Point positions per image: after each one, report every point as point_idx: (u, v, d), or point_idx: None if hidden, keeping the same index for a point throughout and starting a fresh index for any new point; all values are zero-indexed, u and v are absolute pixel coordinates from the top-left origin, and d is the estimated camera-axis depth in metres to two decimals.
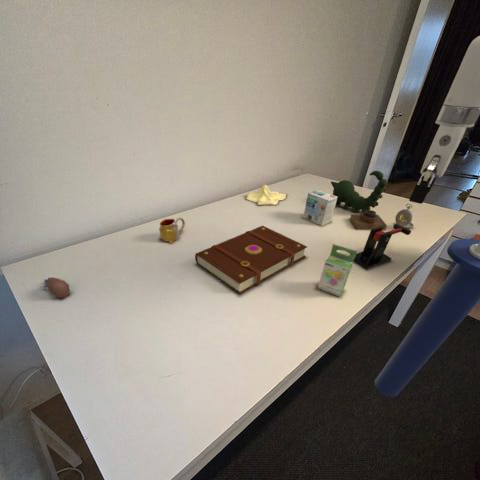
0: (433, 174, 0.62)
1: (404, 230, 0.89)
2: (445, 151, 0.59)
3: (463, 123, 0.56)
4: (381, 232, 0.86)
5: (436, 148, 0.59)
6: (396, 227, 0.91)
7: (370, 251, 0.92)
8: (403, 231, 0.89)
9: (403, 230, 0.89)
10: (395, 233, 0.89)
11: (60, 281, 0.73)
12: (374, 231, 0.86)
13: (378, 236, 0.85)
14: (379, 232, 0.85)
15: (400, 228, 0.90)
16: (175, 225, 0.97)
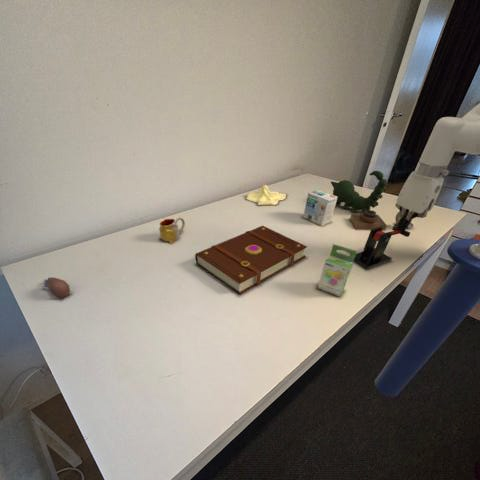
0: None
1: (403, 232, 0.89)
2: (436, 195, 0.79)
3: None
4: (381, 232, 0.86)
5: (433, 195, 0.78)
6: (395, 229, 0.91)
7: (370, 251, 0.92)
8: (402, 233, 0.90)
9: (402, 232, 0.90)
10: (394, 234, 0.89)
11: (60, 281, 0.73)
12: (374, 231, 0.86)
13: (378, 236, 0.85)
14: (380, 232, 0.85)
15: None
16: (175, 225, 0.97)
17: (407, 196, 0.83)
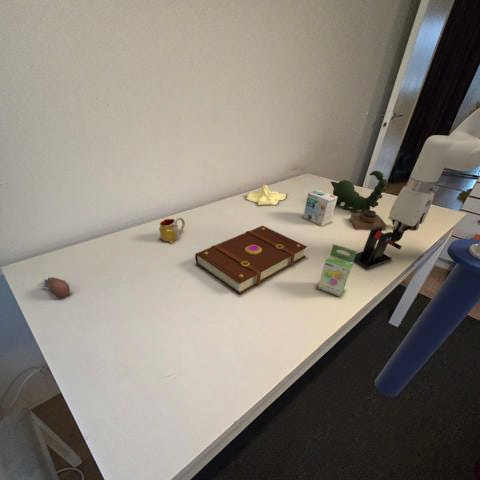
0: None
1: (396, 244, 0.92)
2: (428, 209, 0.81)
3: None
4: None
5: (424, 209, 0.80)
6: None
7: (370, 251, 0.92)
8: (394, 245, 0.92)
9: (395, 244, 0.92)
10: (389, 243, 0.91)
11: (60, 281, 0.73)
12: (374, 231, 0.86)
13: (379, 234, 0.85)
14: (381, 232, 0.86)
15: None
16: (175, 225, 0.97)
17: (399, 209, 0.85)
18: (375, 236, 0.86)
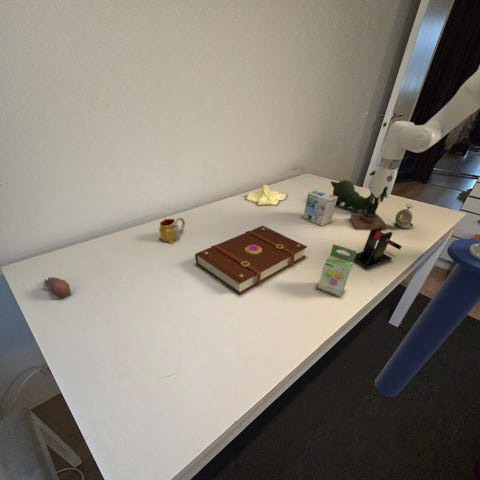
0: None
1: (396, 244, 0.92)
2: (390, 184, 0.97)
3: (396, 168, 0.95)
4: None
5: (385, 183, 0.97)
6: None
7: (370, 251, 0.92)
8: (394, 245, 0.92)
9: (395, 244, 0.92)
10: (389, 243, 0.91)
11: (61, 281, 0.73)
12: (374, 231, 0.86)
13: (379, 234, 0.85)
14: (381, 232, 0.86)
15: (392, 241, 0.93)
16: (175, 225, 0.97)
17: (373, 183, 1.03)
18: (375, 236, 0.86)
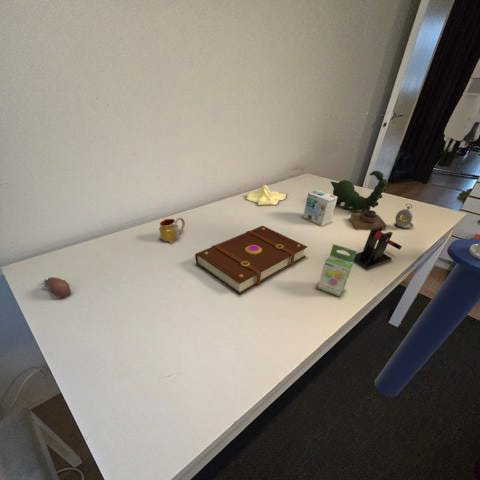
0: None
1: (396, 244, 0.92)
2: None
3: None
4: None
5: (477, 116, 0.70)
6: None
7: (370, 251, 0.92)
8: (394, 245, 0.92)
9: (395, 244, 0.92)
10: (389, 243, 0.91)
11: (61, 281, 0.73)
12: (374, 231, 0.86)
13: (379, 234, 0.85)
14: (381, 232, 0.86)
15: (392, 241, 0.93)
16: (175, 225, 0.97)
17: (453, 122, 0.76)
18: (375, 236, 0.86)
